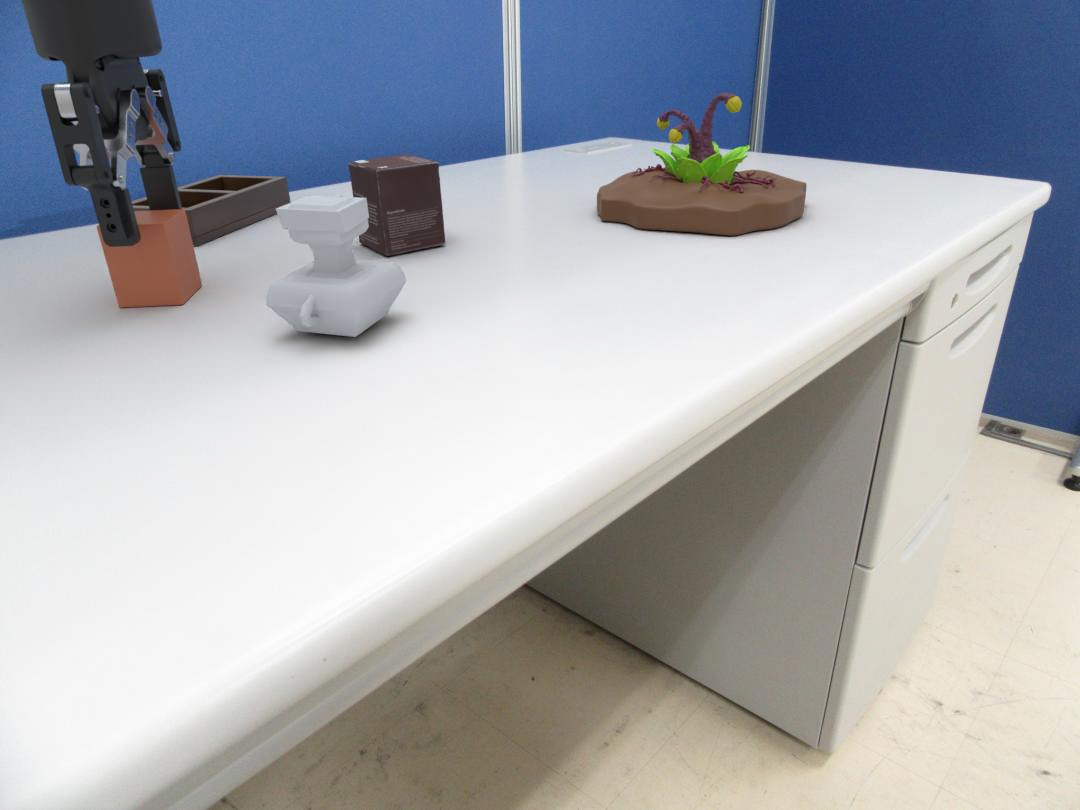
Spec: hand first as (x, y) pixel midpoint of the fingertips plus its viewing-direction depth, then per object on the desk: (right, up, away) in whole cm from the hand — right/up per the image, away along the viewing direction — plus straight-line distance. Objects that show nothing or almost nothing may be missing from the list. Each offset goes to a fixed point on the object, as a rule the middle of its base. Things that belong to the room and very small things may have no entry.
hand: (147, 229), depth 57 cm
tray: (-5, +6, +23) cm, 24 cm away
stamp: (+16, -8, -5) cm, 18 cm away
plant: (+45, +7, +23) cm, 51 cm away
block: (0, -5, +2) cm, 5 cm away
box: (+16, +1, +14) cm, 21 cm away
